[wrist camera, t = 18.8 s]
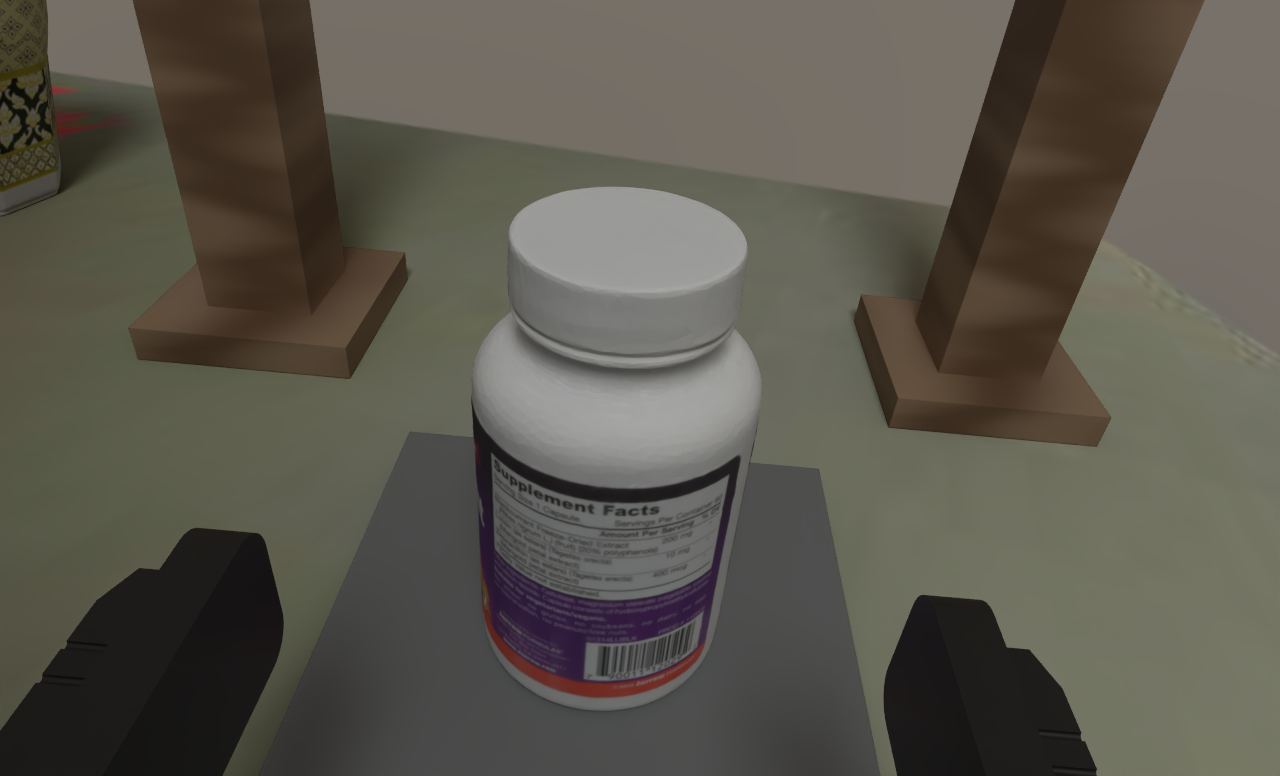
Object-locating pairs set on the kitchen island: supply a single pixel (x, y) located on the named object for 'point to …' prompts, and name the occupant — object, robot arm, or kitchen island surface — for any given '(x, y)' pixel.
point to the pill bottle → (612, 443)
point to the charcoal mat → (556, 734)
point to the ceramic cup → (26, 108)
